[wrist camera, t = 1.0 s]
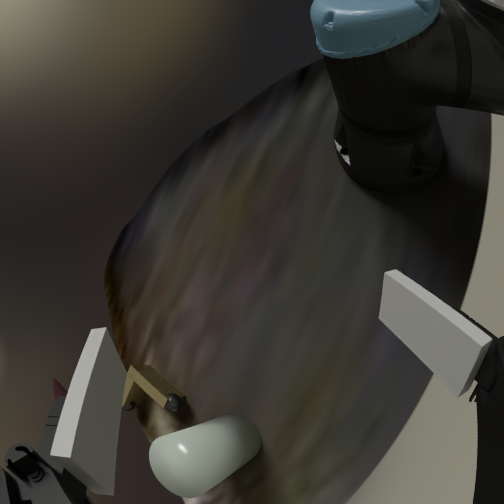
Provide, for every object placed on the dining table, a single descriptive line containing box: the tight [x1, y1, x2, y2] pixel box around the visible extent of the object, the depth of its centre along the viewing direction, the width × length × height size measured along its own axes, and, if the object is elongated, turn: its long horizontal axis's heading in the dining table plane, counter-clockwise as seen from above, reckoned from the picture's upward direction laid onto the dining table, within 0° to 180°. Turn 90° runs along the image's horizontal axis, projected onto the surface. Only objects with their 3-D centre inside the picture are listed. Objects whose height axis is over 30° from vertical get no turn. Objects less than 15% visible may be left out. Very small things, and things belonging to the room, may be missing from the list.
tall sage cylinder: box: [149, 414, 261, 498], centre depth 25 cm, size 7×7×12 cm
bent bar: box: [122, 365, 186, 412], centre depth 35 cm, size 9×10×4 cm
